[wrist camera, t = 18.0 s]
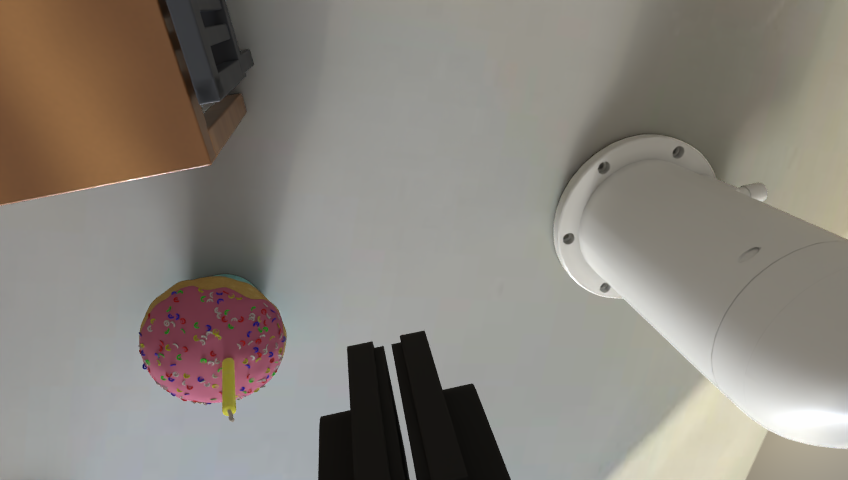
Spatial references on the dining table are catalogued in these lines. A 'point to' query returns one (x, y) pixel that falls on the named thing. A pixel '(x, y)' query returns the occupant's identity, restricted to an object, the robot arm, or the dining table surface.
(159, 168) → the oak table
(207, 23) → the charcoal chair
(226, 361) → the cupcake
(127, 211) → the dining table surface
